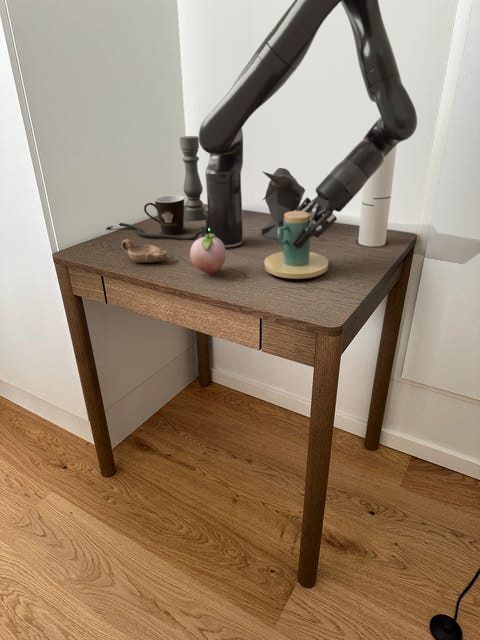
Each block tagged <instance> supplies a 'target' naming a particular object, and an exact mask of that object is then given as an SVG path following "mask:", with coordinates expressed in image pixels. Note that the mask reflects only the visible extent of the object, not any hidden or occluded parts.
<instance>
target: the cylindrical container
mask: <svg viewBox="0 0 480 640" xmlns="http://www.w3.org/2000/svg"><path fill="white" fill-rule="evenodd" d="M397 148H398V144H397V145H396V146H395V147H394V148H393V149H392V150H391V151H390V152H389V153H388V155H387V156H386V157H385V158H384V161H383V163H382V165H381V166H380V167H379V168H378V170H377V171H376V172H375V173H374V174H373V175H372V176H371V177H370V178H369V179H368V180H367V182H366V183H365V184H364V186H363V187H362V194H361V195H362V196H361V206H360V216H359V217H360V218H359V229H358V241H357V243H358V244H359V245H361V246H364V247H372V248H376V247H382V246H385V244H386V241H387V233H388V232H387V231H388V225H389V224H388V223H389V217H390V216H389V215H390V207H391V200H392V199H391V198H392V189H393V180H394V173H395V165H396V156H397Z"/></svg>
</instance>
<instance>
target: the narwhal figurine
mask: <svg viewBox="0 0 480 640" xmlns="http://www.w3.org/2000/svg"><path fill="white" fill-rule="evenodd" d="M262 174H264V175H265V176H266V177H268V179H270V180H269V182H268V186H267V188H266V192H265V195H264V197H263V198H262V200H261V202H262V201H265V203H266V205H267V207H268V210H269V214H270V217H271V219H270V220H269V221H268V223H266V225H264V227H262V228H261V236H264V237H268V238H271V239H274V240H278V228H280V227H283V219H284V214H285V213H287V212H290V211H296V210H297V208H298V207H299V206H300V205H301V204H302V200H303V197H304V194H305V193H306V189H305V188H304V186H302V185H301V184H300V183H299V182H298V181H297V179H296V178H295V177H294V176H293V175H292V174H291V172H290V171H289V170H288V169H287V168H283V167H278V168H277V169H276V170H275V171H274V172H273V174H272V173H268V172H265V171H262ZM282 233H283V231H282ZM282 241H283V235H282Z"/></svg>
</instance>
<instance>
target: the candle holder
mask: <svg viewBox="0 0 480 640" xmlns="http://www.w3.org/2000/svg"><path fill="white" fill-rule="evenodd" d="M179 146H180V150H181V153H182V155H183V157H182V159H181V161H182V162H183V164H184V168H185V175H184V183H183V192H184V195H185V196H186V199H187V200H186V202H185V206H186V207H184V213H185V219H186V220H187V221H195V222H196V221H201V220H204V219H206V214H205V206H203V205H204V202H203V201H202V199H201V195H202V193H203V190H204V187H203V184H202V181H201V178H200V175H199V170H198V169H199V168H198V161H199V160H200V157H199V156H198V152H199V148H200V143H199V139H198V135H197V136H196V135H187V136H185V135H184V136H180V137H179Z"/></svg>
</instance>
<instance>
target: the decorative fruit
mask: <svg viewBox="0 0 480 640" xmlns="http://www.w3.org/2000/svg"><path fill="white" fill-rule="evenodd" d="M189 256H190V261H191V262H192V265H193V266H194V267H195V268H196V269H198V270H200V271H201V272H203V273H205V274H209V275H213V274H215V273H217V272H218V271H220V270H221V269H222V267H223V266H224V265H225V262H226V258H227V253H226V248H225V246H224V244H223V243H222V241H221V240H220V239H218V238H216V237H215V235H214V234H209V233H207V234H206V235H205V237H202V236H201V237H199V238H198V239H196V240H195V241H194V242H193V243H192V244H191V248H190V252H189Z"/></svg>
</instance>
